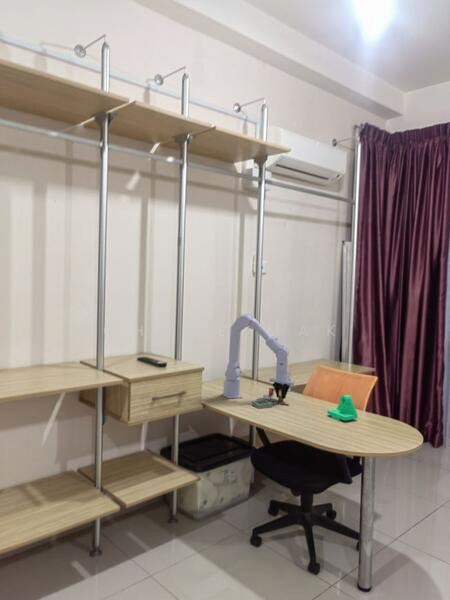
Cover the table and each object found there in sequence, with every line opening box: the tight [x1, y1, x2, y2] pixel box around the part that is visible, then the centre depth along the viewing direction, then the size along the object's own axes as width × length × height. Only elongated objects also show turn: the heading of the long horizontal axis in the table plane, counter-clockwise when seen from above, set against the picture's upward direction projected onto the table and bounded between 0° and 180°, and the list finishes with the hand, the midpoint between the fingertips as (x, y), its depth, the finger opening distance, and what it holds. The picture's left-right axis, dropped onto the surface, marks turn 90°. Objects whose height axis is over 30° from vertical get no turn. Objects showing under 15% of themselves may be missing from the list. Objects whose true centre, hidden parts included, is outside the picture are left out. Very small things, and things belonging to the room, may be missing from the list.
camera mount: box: [326, 394, 359, 421], centre depth 220 cm, size 12×8×10 cm, turn 30°
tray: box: [251, 399, 273, 409], centre depth 237 cm, size 7×7×2 cm
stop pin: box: [277, 389, 285, 403], centre depth 246 cm, size 3×3×6 cm
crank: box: [262, 387, 275, 401], centre depth 246 cm, size 10×4×4 cm, turn 158°
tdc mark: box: [279, 402, 290, 406], centre depth 240 cm, size 4×1×1 cm, turn 68°
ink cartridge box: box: [282, 364, 292, 392], centre depth 271 cm, size 9×5×15 cm, turn 22°
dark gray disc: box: [255, 397, 279, 406], centre depth 244 cm, size 11×11×1 cm
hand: (281, 397), depth 247 cm, fingers closed on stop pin, 3 cm apart
